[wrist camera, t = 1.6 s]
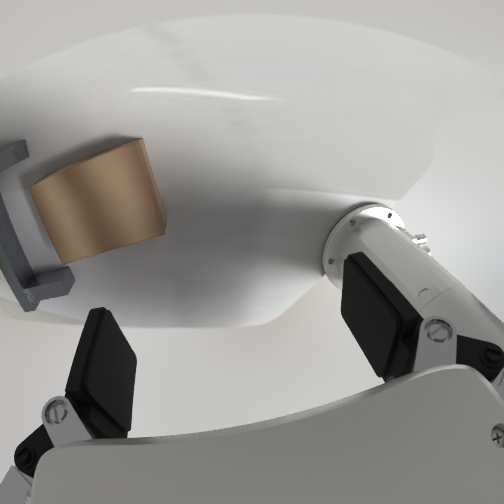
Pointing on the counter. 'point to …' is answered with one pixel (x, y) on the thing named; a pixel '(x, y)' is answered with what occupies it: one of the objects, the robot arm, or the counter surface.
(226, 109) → the counter surface
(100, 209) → the walnut slab
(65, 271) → the stop bracket
